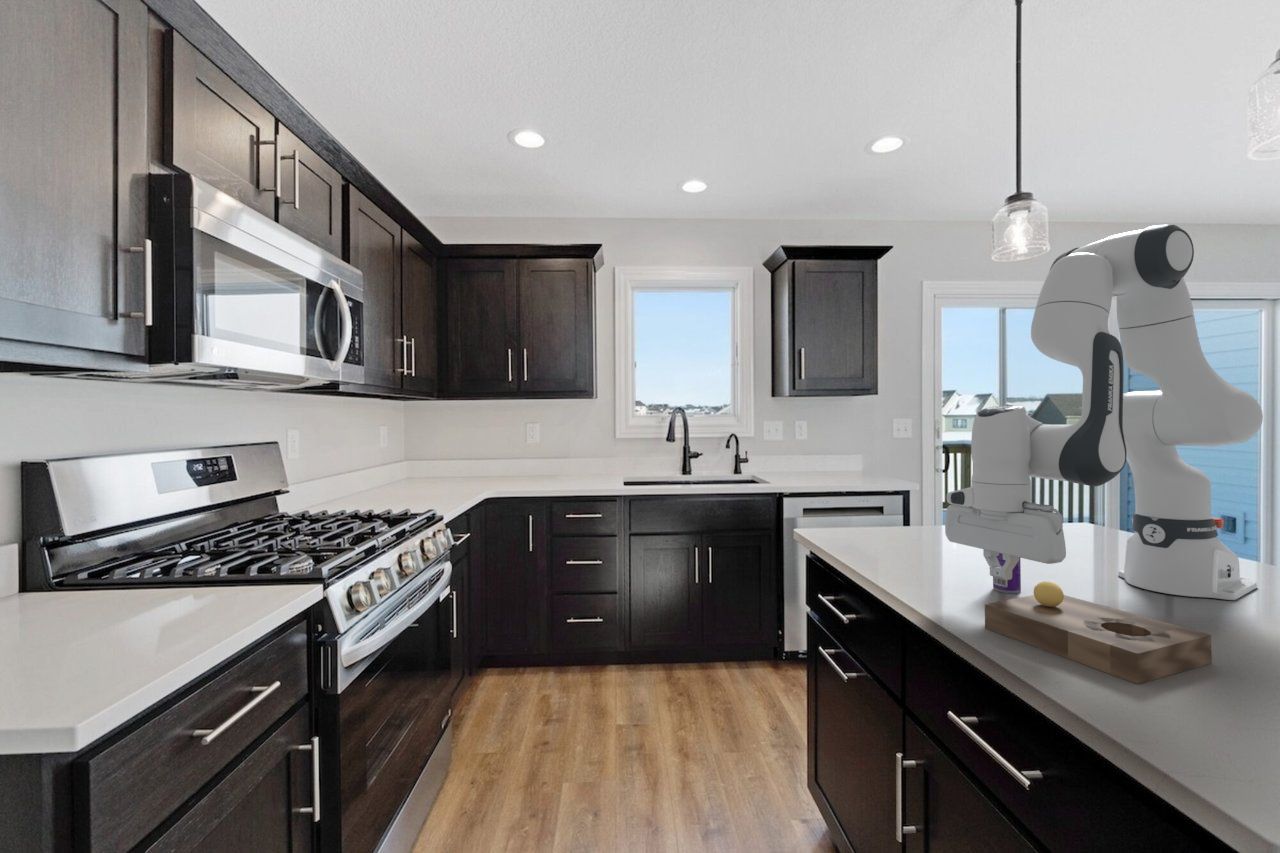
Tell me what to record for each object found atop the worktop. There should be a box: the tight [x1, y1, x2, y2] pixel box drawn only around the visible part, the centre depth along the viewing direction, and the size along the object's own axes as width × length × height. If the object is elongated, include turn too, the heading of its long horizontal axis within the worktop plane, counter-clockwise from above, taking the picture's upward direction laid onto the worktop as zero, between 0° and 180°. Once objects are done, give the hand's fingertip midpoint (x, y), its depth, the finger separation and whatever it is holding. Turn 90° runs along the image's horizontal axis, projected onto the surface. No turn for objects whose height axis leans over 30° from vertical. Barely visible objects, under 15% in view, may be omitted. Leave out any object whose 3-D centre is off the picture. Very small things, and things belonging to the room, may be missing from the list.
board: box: [984, 594, 1213, 685], centre depth 89 cm, size 16×22×4 cm
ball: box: [1033, 580, 1065, 607], centre depth 94 cm, size 4×4×4 cm
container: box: [992, 553, 1022, 595], centre depth 116 cm, size 5×5×15 cm
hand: (1000, 577), depth 102 cm, fingers closed
